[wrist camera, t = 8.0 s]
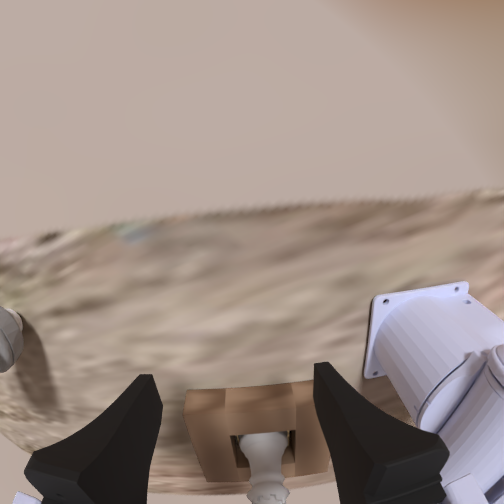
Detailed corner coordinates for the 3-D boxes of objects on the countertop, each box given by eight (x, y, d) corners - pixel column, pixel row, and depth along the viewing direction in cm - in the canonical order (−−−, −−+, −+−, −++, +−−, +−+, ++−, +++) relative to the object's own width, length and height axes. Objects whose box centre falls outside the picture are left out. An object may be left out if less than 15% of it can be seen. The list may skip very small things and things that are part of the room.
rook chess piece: (260, 450, 26) (266, 518, 19) (227, 431, 25) (226, 505, 17) (297, 430, 25) (310, 501, 18) (264, 409, 24) (272, 486, 17)
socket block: (329, 377, 25) (338, 401, 22) (321, 450, 28) (327, 471, 25) (187, 389, 24) (182, 414, 22) (208, 460, 28) (207, 482, 25)
